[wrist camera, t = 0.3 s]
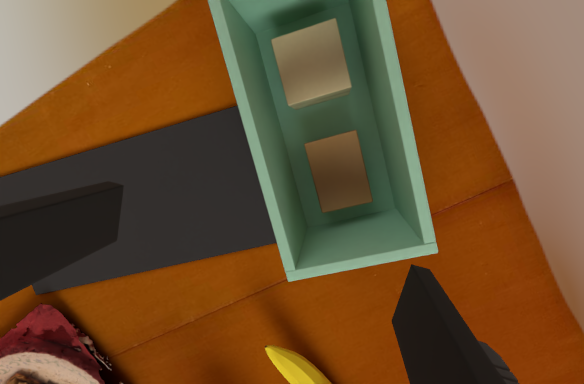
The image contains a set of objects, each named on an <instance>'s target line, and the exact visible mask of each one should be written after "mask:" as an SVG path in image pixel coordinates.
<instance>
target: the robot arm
mask: <svg viewBox="0 0 584 384" xmlns="http://www.w3.org/2000/svg"><path fill="white" fill-rule="evenodd" d="M123 188H124V185H121V184H117V183H114V182H110V181H106V182H102V183H97V184H93V185H89V186H84V187H80V188H76V189H71V190H67V191H63V192H58V193H54V194H49V195H45V196H41V197H36V198H32V199H28V200H23V201H19V202H14V203H10V204H6V205H1V206H0V300H2V299H4V298H6V297H8V296H10V295H12V294H14V293H16V292H18V291H20V290H22V289H24V288H26V287H28V286H30V285H32V284H34V283H36V282H38V281H40V280H41V279H43V278H45V277H47V276H49V275H51V274H53V273H55V272H57V271H59V270H61V269H63V268H65V267H67V266H69V265H71V264H73V263H75V262H77V261H79V260H81V259H83V258H84V257H86V256H88V255H90V254H92V253H94V252H96V251H98V250H100V249H102V248H104V247H106V246H108V245H110V244H112V243H114V242H116V241H117V237H118V229H119V221H120V213H121V204H122V196H123ZM392 324H393V327H394V330H395V334H396V337H397V341H398V344H399V347H400V351H401V354H402V358H403V361H404V364H405V368H406V371H407V375H408V378H409V381H410V384H519V383H518V380H517V379H516V377H515V376H514V375H513V373H512V372H510V369H509V368H508V366H507V365H506V364H505V362H504V361H503V360H502V358H501V357H500V356H499V355H498V354H497V353H496V352H495V351H494V350H493V349H491V348H490V347H489V346H488V345H487V344H486V343H483V342H480V341H477V339H476V338H475V336H474V335H473V333H472V332H471V330H470V329H469V327H468V326H467V324H466V323H465V321H464V320H463V318H462V317H461V315H460V314H459V312H458V311H457V309H456V308H455V306H454V305H453V304H452V302H451V301H450V299H449V298H448V296H447V295H446V293H445V292H444V290H443V289H442V287H441V286H440V284H439V283H438V281H437V280H436V278H435V277H434V275H433V274H432V272H431V271H430V269H426V268H423V267H419V266H415V265H412V264H411V267H410V270H409V273H408V276H407V278H406V281H405V284H404V287H403V290H402V293H401V296H400V298H399V301H398V304H397V307H396V310H395V313H394V316H393V318H392Z"/></svg>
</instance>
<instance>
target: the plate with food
mask: <svg viewBox="0 0 584 384" xmlns="http://www.w3.org/2000/svg"><path fill="white" fill-rule="evenodd" d="M16 326H18V327H17V328H16V329H11V330H10V331H9V332H8V333H7V334H5V335H4V336H3V337H2V338H1V339H0V384H105V382H104V381H103V380H102V379H101V377H100V375H99V372H98V371H99V370H102V368H101V366H100V365H99V364H98V363H97V361H96V360H98V361H99V362H101V363H102V364H103V365H105V366H106V367H107V368H108V369H110V370H112V369H111V368H109V366H111V364H108V365H107V364H106V363H108V362H107V361H106V363H105V362H104V360H103V359H104V357H103V358H102V357H101V356H99V355H100V354H99V355H98V352H97V353H96V349H95V348H94V345H93V341H92V340H90V339H89V336H86V335H85V334H84V333H81V332H80V329H78V328H73V327H74V326H75V325H74V324H70V323H69V322H68V321H67V319H65V317H64V316H63V315H62V314H61V313H60V312H59V311H58V310H57V309H54V308H53V306H51V305H43V304H42V303H41V304H40V305H39V306H37V307H36V308H35V309H34V310H33V311H32V312H30V313H29V314H28V315H27V316H26V317H25V318H24V319H23V320H21V321H20V322H19V323H18V324H16ZM106 357H108V356H106ZM106 359H107V360H108V358H106ZM120 384H123V382H122V383H121V382H120Z"/></svg>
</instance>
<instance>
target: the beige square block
mask: <svg viewBox="0 0 584 384" xmlns="http://www.w3.org/2000/svg"><path fill="white" fill-rule="evenodd" d="M271 43H272V47H273V51H274V55H275V58H276V62H277V66H278V70H279V74H280V78H281V81H282V85H283V89H284V93H285V97H286V100H287V104H288V106H290V107H292V108H294V109H295V110H297V109H301V108H304V107H308V106H311V105H315V104H318V103H322V102H325V101H329V100H332V99H335V98H339V97H342V96H346V95H349V93H350V90H351V87H352V84H351V80H350V76H349V71H348V67H347V63H346V58H345V54H344V50H343V45H342V41H341V37H340V32H339V28H338V24H337V19H336V18H333V19H330V20H327V21H324V22H321V23H318V24H315V25H312V26H309V27H306V28H303V29H300V30H297V31H294V32H291V33H288V34H285V35H282V36H279V37H276V38H273V39H271Z"/></svg>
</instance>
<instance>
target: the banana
mask: <svg viewBox="0 0 584 384" xmlns="http://www.w3.org/2000/svg"><path fill="white" fill-rule="evenodd" d="M265 350H266V352H267V354H268V356H269V358H270V359H271V361H272V362H273V363H274V365H275V366H276V367H277V369H278V370H279V371H280V372H281V374H282V375H283V376H284V377H285V378H286V379H287V380H288V381H289V382H290V383H291V384H332V383H331V382H330V381H329V380H328V379H327V378H326V377H325V376H324V375H323V373H322V372H320V371H319V370H318V369H317V368H316V367H315V366H314V365H313V364H312V363H311V362H310V361H308V360H307V359H306V358H305V357H303V356H301V355H299V354H298V353H296V352H294V351H291V350H288V349H285V348H281V347H278V346H275V345H271V346H270V345H266V346H265Z"/></svg>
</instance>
